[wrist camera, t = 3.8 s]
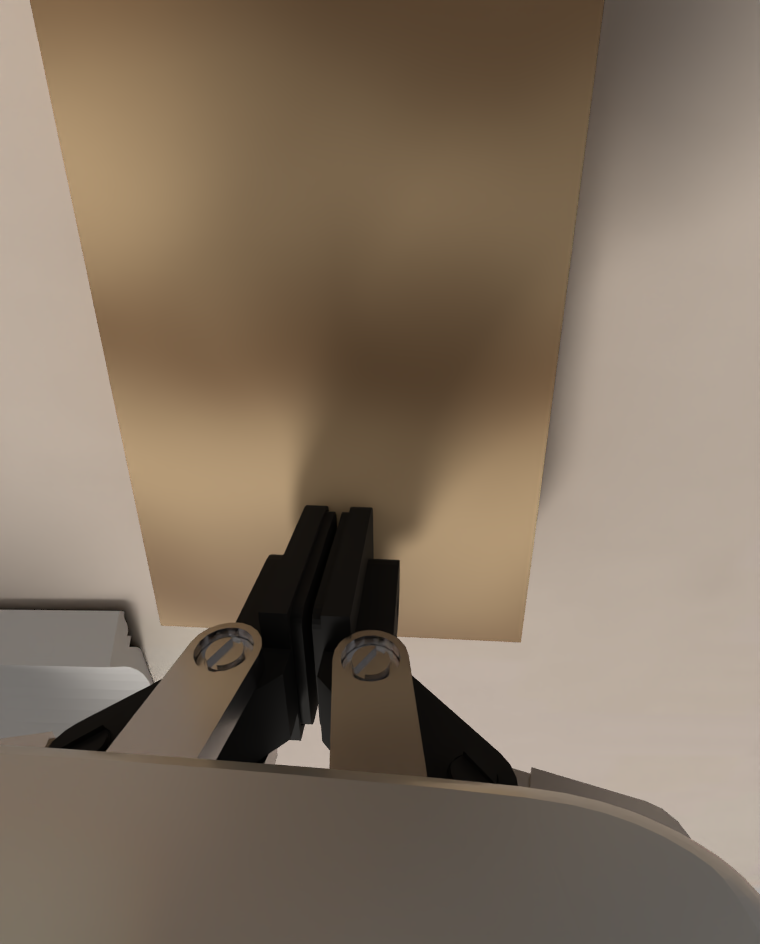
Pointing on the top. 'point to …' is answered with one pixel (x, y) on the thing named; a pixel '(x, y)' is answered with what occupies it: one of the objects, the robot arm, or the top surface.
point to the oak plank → (329, 276)
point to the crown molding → (64, 668)
